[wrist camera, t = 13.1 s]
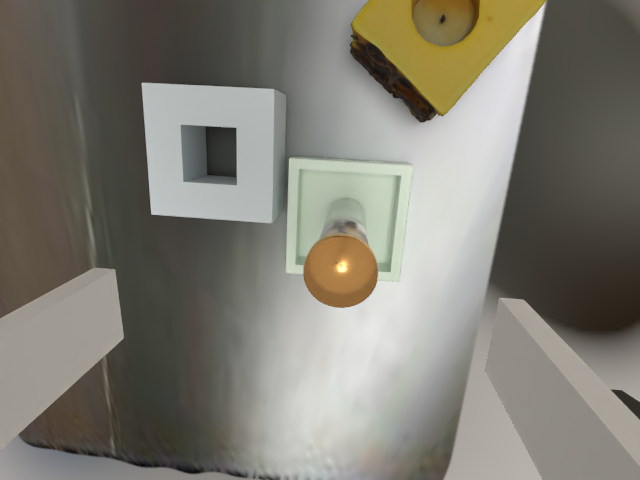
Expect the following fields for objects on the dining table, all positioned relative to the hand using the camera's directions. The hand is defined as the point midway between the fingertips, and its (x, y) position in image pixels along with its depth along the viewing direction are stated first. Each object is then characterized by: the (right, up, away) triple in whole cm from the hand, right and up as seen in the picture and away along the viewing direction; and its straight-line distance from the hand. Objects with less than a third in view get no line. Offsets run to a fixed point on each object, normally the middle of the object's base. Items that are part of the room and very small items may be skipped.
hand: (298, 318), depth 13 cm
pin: (+4, +5, +28) cm, 28 cm away
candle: (+10, +21, +23) cm, 33 cm away
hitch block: (-9, +12, +28) cm, 31 cm away
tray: (+4, +5, +28) cm, 29 cm away
